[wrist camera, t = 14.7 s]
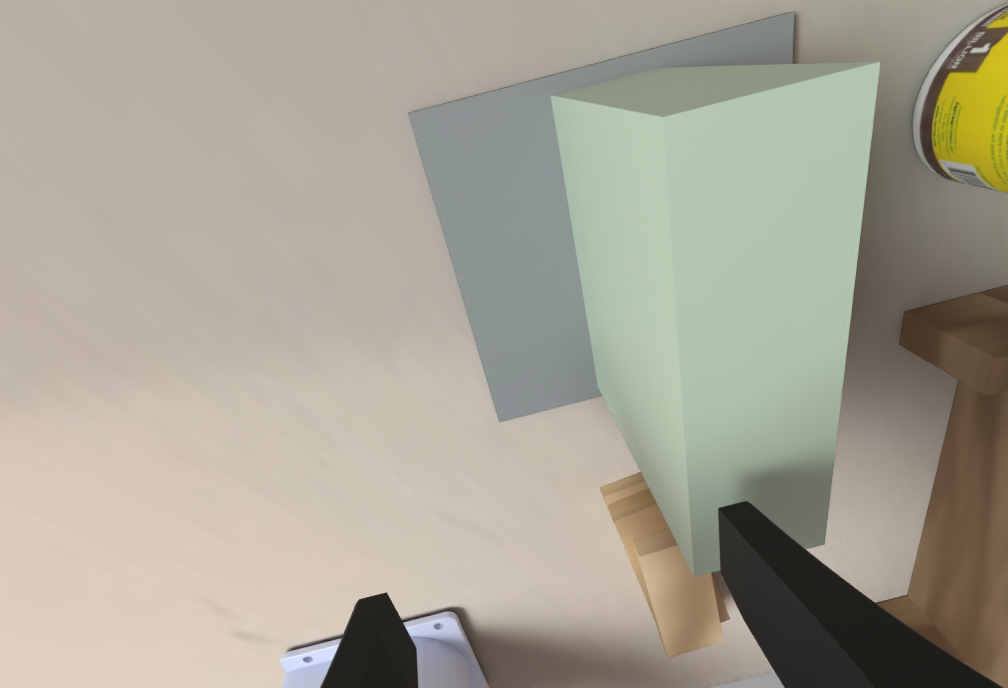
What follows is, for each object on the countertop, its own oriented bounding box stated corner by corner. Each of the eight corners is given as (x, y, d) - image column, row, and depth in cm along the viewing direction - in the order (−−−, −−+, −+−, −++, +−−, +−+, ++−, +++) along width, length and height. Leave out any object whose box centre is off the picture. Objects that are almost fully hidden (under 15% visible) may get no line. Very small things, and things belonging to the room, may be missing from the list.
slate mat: (498, 416, 22) (499, 422, 21) (408, 112, 16) (408, 113, 16) (776, 345, 21) (781, 349, 21) (786, 12, 16) (794, 11, 15)
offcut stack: (653, 620, 30) (674, 672, 28) (595, 482, 25) (614, 531, 22) (716, 598, 30) (743, 648, 27) (672, 453, 24) (700, 499, 22)
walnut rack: (853, 624, 32) (935, 733, 27) (904, 312, 21) (1056, 390, 16) (928, 605, 32) (1025, 710, 27) (1017, 282, 21) (1206, 351, 16)
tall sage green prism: (597, 387, 21) (694, 577, 13) (550, 95, 16) (662, 117, 8) (679, 366, 21) (824, 544, 13) (658, 67, 16) (880, 61, 8)
